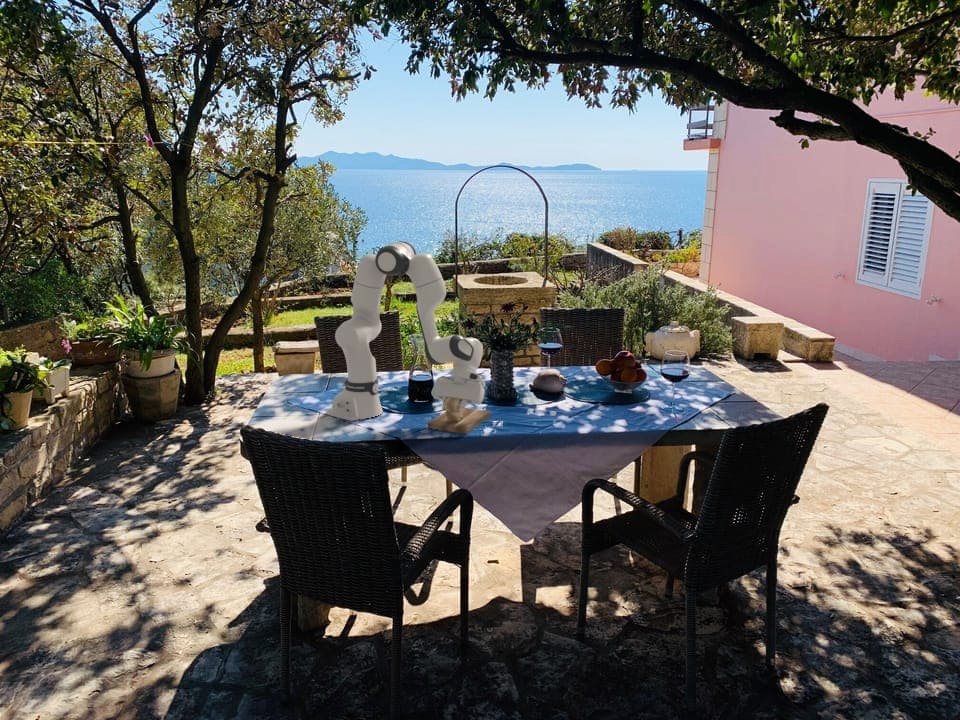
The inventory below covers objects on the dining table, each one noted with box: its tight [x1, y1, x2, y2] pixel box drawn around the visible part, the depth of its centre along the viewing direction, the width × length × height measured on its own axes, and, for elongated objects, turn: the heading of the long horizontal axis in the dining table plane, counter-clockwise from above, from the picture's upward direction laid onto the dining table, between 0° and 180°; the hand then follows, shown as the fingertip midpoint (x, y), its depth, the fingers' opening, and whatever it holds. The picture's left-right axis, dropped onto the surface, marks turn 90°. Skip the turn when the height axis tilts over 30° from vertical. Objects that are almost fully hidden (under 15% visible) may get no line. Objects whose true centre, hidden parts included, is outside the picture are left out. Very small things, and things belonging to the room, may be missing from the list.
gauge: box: [444, 398, 463, 422], centre depth 254 cm, size 6×4×8 cm, turn 65°
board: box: [427, 407, 492, 435], centre depth 259 cm, size 16×21×2 cm
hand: (451, 410), depth 253 cm, fingers closed on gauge, 5 cm apart
